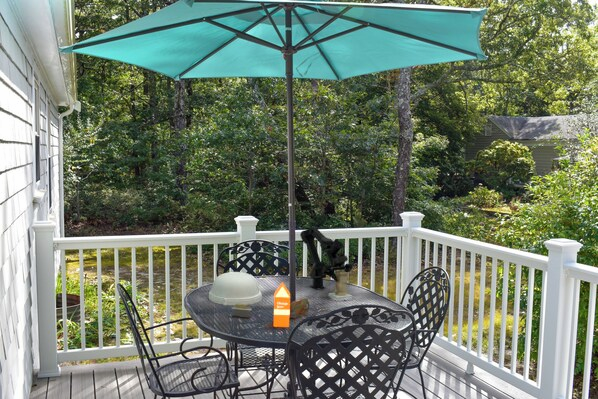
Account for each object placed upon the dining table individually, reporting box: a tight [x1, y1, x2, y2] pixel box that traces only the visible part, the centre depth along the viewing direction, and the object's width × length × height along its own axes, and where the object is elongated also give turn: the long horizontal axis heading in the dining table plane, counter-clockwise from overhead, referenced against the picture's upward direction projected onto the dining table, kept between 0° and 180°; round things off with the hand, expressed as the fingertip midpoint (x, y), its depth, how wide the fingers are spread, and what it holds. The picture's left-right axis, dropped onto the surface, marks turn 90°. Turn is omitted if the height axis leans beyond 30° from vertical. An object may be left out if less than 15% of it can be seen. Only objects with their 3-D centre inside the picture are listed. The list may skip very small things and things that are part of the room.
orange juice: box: [273, 281, 291, 328], centre depth 275 cm, size 8×9×20 cm
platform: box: [231, 303, 252, 319], centre depth 286 cm, size 12×18×7 cm, turn 78°
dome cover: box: [208, 271, 263, 306], centre depth 319 cm, size 32×30×14 cm
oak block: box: [334, 270, 349, 296], centre depth 325 cm, size 5×5×13 cm
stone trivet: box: [328, 292, 353, 299], centre depth 326 cm, size 10×10×3 cm
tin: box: [289, 298, 310, 319], centre depth 290 cm, size 15×3×8 cm, turn 143°
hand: (342, 281), depth 324 cm, fingers open, 7 cm apart
